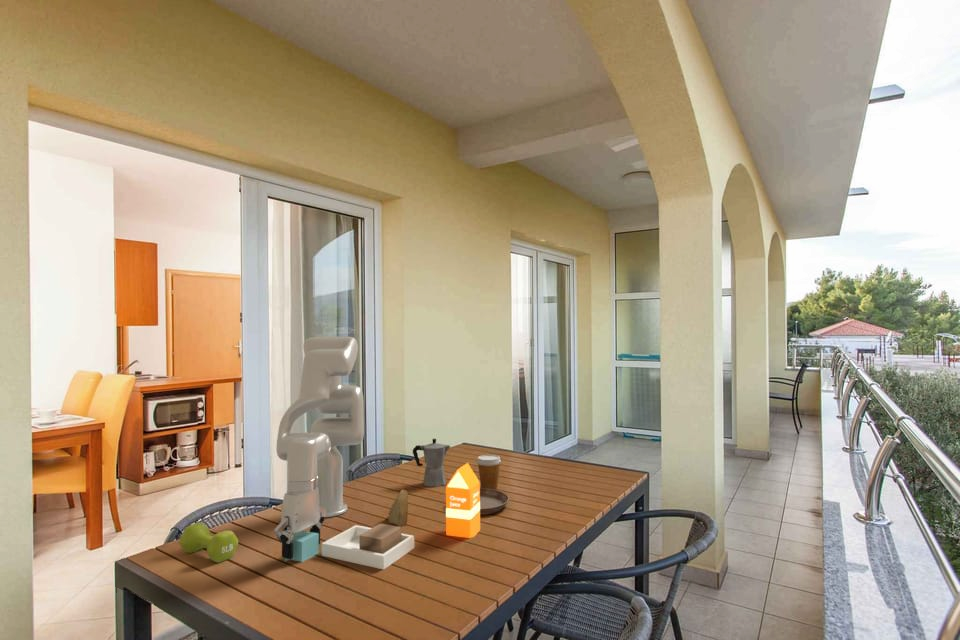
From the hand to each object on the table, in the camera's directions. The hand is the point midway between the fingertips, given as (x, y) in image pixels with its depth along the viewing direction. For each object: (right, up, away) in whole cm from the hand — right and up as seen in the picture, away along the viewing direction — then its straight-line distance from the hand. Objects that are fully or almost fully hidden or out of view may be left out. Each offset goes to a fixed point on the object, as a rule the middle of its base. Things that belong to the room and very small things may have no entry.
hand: (301, 550), depth 130 cm
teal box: (0, -2, 0) cm, 2 cm away
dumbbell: (-27, -3, +3) cm, 27 cm away
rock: (+21, -3, +24) cm, 33 cm away
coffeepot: (+28, -5, +68) cm, 73 cm away
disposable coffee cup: (+51, -4, +60) cm, 79 cm away
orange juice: (+42, -3, +16) cm, 45 cm away
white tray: (+17, -2, +2) cm, 18 cm away
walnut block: (+21, -1, 0) cm, 21 cm away
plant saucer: (+47, -4, +40) cm, 62 cm away
